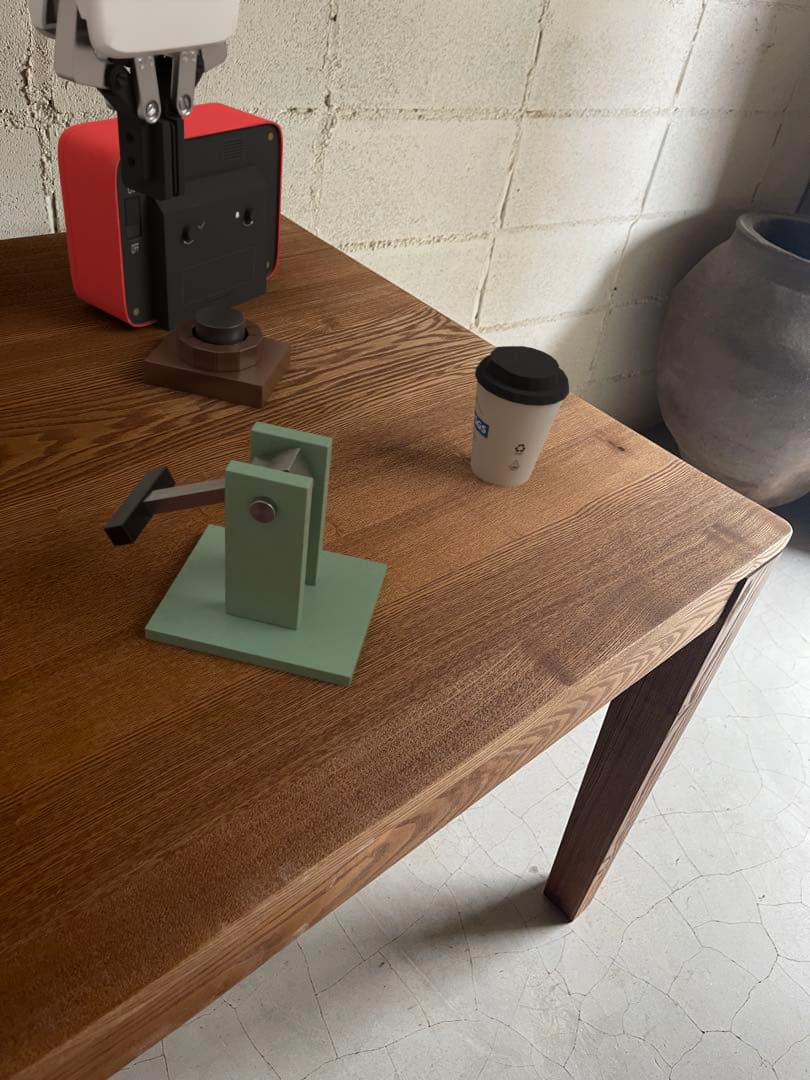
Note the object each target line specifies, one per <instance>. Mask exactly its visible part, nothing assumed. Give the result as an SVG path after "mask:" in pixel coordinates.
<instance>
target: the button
mask: <svg viewBox="0 0 810 1080" xmlns="http://www.w3.org/2000/svg"><path fill="white" fill-rule="evenodd" d="M245 318H246V316H245V315H244V314H243V313H242V312H241V311H240V310H238V309H236V308H233V307H230V308H229V307H223V306H212V307H206V308H203V309H201V310H199V311H198V312H197V313H196V315H195V334H196V338H197V339H199V340H200V341H202V342H203V343H208V344H213V345H217V346H218V345H234V344H237V343H239V342H242V341H243V340H244V338H245Z"/></svg>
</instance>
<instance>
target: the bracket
mask: <svg viewBox="0 0 810 1080" xmlns="http://www.w3.org/2000/svg"><path fill="white" fill-rule="evenodd" d="M333 440H334V439H333V437H330V436H326V435H322V434H316V433H312V432H307V431H303V430H298V429H294V428H289V427H285V426H280V425H275V424H271V423H266V422H262V421H255V423H254V424H253V425H252V427H251V429H250V442H249V443H250V445H249V463H247V462H243V461H240V460H239V461H238V460H234V459H231V460H230V461H229V463H228V464H227V466H226V467H225V469H224V478H225V503H224V526H220V525H216V524H212V523H208V525H207V527H206V529H205V530H204V531H203V533H202V535H201V536H200V538H199V540H198V541H197V543H196V544H195V546H194V548H193V549H192V551H191V553H190V554H189V556H188V557H187V559H186V561H185V562H184V564H183V565H182V567H181V569H180V570H179V572H178V574H177V575H176V577H175V578H174V580H173V581H172V583H171V585H170V586H169V588H168V590H167V591H166V593H165V595H164V597H163V598H162V599H161V601H160V602H159V604H158V606H157V608H156V609H155V611H154V613H153V614H152V616H151V617H150V619H149V621H148V622H147V624H146V625H145V627H144V634H145V635H144V636H145V639H147V640H150V641H155V642H159V643H163V644H168V645H172V646H175V647H180V648H183V649H188V650H191V651H192V650H193V651H197V652H201V653H205V654H209V655H213V656H218V657H221V658H225V659H230V660H233V661H238V662H242V663H247V664H251V665H254V666H259V667H263V668H267V669H272V670H276V671H280V672H284V673H288V674H291V675H297V676H300V677H305V678H309V679H313V680H318V681H322V682H327V683H331V684H333V685H338V686H343V687H347V688H350V687H351V683H352V680H353V677H354V674H355V671H356V668H357V664H358V661H359V659H360V655H361V653H362V649H363V647H364V644H365V641H366V637H367V633H368V631H369V628H370V625H371V622H372V620H373V619H372V618H373V615H374V612H375V609H376V607H377V603H378V599H379V598H380V594H381V590H382V588H383V584H384V581H385V578H386V575H387V570H388V564H386V563H382V562H378V561H374V560H369V559H365V558H360V557H356V556H351V555H348V554H343V553H340V552H339V553H338V552H334V551H331V550H326V549H325V550H324V549H323V546H324V536H325V525H326V515H327V505H328V494H329V482H330V471H331V462H332V461H331V460H332V452H333V451H332V449H333V442H334V441H333ZM294 448H300V449H301V451H302V454H303V456H304V458H305V460H306V463H307V465H308V467H309V470H310V472H311V474H312V476H313V478H310V477H306V476H301V475H297V474H293V473H288V472H284V471H279V470H275V469H270V468H266V467H261V466H257V465H252V464H250V463H251V462H252V460H253V459H254V457H255V456H258V455H263V454H268V453H273V452H279V451H284V450H289V449H294ZM313 479H314V481H315V485H314V487H313V489H312V484H313Z"/></svg>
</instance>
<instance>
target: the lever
mask: <svg viewBox="0 0 810 1080" xmlns="http://www.w3.org/2000/svg"><path fill="white" fill-rule="evenodd" d="M249 464H252V465H257V466H261V467H266V468H270V469H275V470H279V471H284V472H288V473H293V474H297V475H301V476H306V477H310V478H313V476H312V474H311V472H310V470H309V467H308V465H307V463H306V460H305V458H304V456H303V454H302V451H301V449H300V448H294V449H289V450H284V451H279V452H273V453H268V454H263V455H258V456H255V457H254V459H253V460H252V462H251V463H250V462H249ZM176 484H177V482H176V481H175V479H174V477H173V475H172V474H171V471H170V470H169V468H168V466H166V465H165V466H159V467H154V468H149V469H148V470H147V471H146V472H145V474H143V476H142V477H141V479H139V481H138V483H137V484H136V485H135V486H134V488H133V489H132V490H131V491H130V493H129V494H128V495H127V497H126V498H125V500H124V501H123V502H122V503H121V504H120V506H119V507H118V509H116V511H115V512H114V513H113V515H112V516H111V517H110V518H109V520H108V522H107V523H106V524H105V525H104V526H103V531H104V532H105V534H106V535H107V537H108V538H109V540H110V542H111V543H112V545H113V547H120V546H126V545H132V544H133V545H134V543H135V542H136V540H137V539H138V538H139V536H140V535H141V534H142V532H143V531H144V529H145V528H146V526H147V525H148V524H149V523H150V521H151V520H152V518H153V517H154V516H155V515H160V514H167V513H172V512H179V511H184V510H189V509H195V508H196V509H197V508H201V507H207V506H213V505H218V504H225V477H221V478H215V479H210V480H204V481H199V482H194V483H187V484H182V485H176ZM314 485H315V481H314V479H313V484H312V489H313V487H314Z"/></svg>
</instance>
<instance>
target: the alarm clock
mask: <svg viewBox="0 0 810 1080" xmlns="http://www.w3.org/2000/svg"><path fill="white" fill-rule="evenodd" d="M182 119H184V142H185V183H186V191H185V194H184V195H181V196H177V197H173V196H171V198H170V199H167V200H164V201H159V200H157V199H154V198H152V197H149V196H147V195H144V194H141V193H139V192H136V191H134V190H131V189H129V188H127V187H125V186H124V184H123V182H122V178H121V164H120V149H119V135H118V121H117V117H112V118H105V119H98V120H93V121H87V122H81V123H77V124H74V125H71V126H69V127H67V128H65V129H64V130H63V131H62V132H61V133H60V135H59V137H58V142H57V166H58V175H59V185H60V191H61V199H62V207H63V217H64V224H65V226H64V227H65V232H66V233H65V234H66V243H67V250H68V258H69V267H70V274H71V281H72V287H73V290H74V292H75V295H76V296H77V297H78V299H80V300H82V301H83V302H85V303H87V304H89V305H91V306H93V307H95V308H97V309H99V310H101V311H102V312H105V313H107V314H109V315H111V316H113V317H114V318H115V319H116V318H117V319H118V320H120V321H123V322H124V323H126V324H129V325H130V326H132V327H135V328H142V327H146V326H150V325H152V324H154V325H156V326H158V327H160V328H162V329H163V330H165V331H168V332H171V331H172V330H173V329H174V328H175V327H176V326H177V325H178V324H179V323H180V322H181V321H182V320H183V321H184V320H185V319H187V318H191V317H194V316H195V315H196V313H197V312H198V311H199V310H201V309H203V308H206V307H212V306H223V307H229V308H233V307H235V306H237V305H240V304H244V303H246V302H248V301H250V300H253V299H255V298H258V297H261V296H264V295H265V294H267V280H269V279H270V278H271V277H273V275H274V274H275V272H276V270H277V268H278V263H279V258H280V242H281V241H280V239H281V217H282V216H281V214H282V213H281V212H282V192H283V191H282V187H283V165H284V164H283V162H284V136H283V130H282V127H281V126H280V124H279V123H277V122H275V121H272V120H270V119H267V118H264V117H262V116H258V115H255V114H253V113H249V112H246V111H244V110H241V109H238V108H236V107H233V106H229V105H227V104H224V103H221V102H213V101H212V102H205V103H199V104H193V109H192V112H191V113H190V115H188V116H187V117H182Z"/></svg>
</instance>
